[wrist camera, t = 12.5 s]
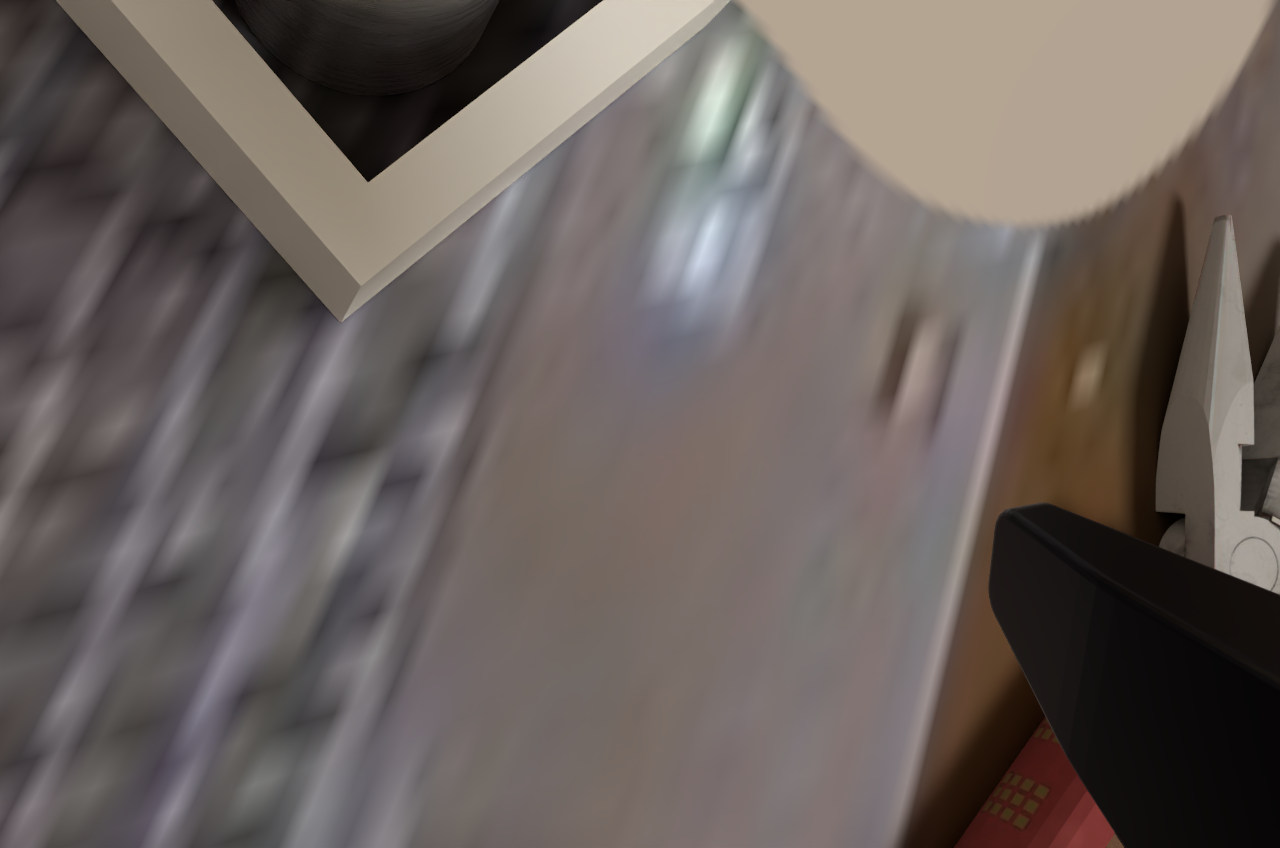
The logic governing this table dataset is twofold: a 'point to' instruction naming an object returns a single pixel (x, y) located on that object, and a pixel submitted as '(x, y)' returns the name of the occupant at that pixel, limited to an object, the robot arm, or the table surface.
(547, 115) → the socket
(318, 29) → the coupler
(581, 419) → the table surface
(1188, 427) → the pliers
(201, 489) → the table surface
